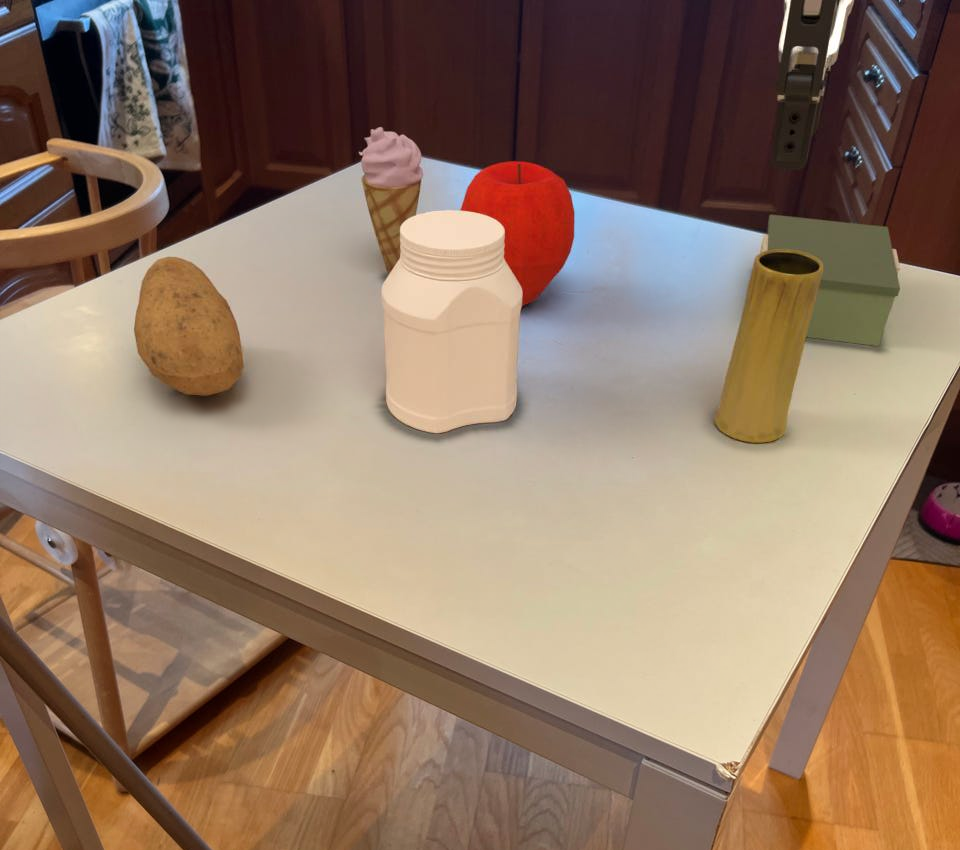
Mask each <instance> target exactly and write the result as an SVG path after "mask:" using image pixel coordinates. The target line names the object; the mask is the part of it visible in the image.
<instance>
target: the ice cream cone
mask: <svg viewBox="0 0 960 850" xmlns="http://www.w3.org/2000/svg"><path fill="white" fill-rule="evenodd" d="M364 141H365V142H366V143H367V147H365V148H364V149H363V150H362V151H358V154H359V155H360V156H362V158H361V162H360V163H361V169H362V172H363V175H362V177H361V183H362V188H363V192H364V193H363V194H364V197H365V201H366V206H367V209H368V210H367V211H368V213H369V217H370V220H371V225H372V228H373V231H374V234H375V238H376V241H377V244H378V248H379V250H380V251H379V252H380V253H381V256H382V260H383V263H384V266H385V269H386V272H387V276H388V275H389V274H390V272H391V271H392V269H393V268H394V266H395V265H396V263H397V262H398V260H399V259H400V252H401V249H400V244H401V243H400V227H401V225H402V224H403V222H404V221H406V220H407V219H409V218H411V217H413V216H415V215H417V211H418V206H419V200H420V199H419V198H420V193H421V186H422V179H423V177H424V171H423V168H422V167H421V166H420V165H421V162H422V157H423V156H422V153H421V150H420V148H419V147H418V145H417V143H415V141H413V140H412V139H411V138H408V137H407V136H406V135H405V134H400V135H398V133H396V132H395V131H384V128H383V127H382V126H380V127H377V128H375V129H373V128H372V129H370V136H368V137H364Z"/></svg>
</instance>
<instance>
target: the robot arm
mask: <svg viewBox="0 0 960 850" xmlns="http://www.w3.org/2000/svg"><path fill="white" fill-rule="evenodd" d="M854 3H855V0H783V6H782V7H783V9H782V10H783V14H784V17H783V22H782V27H781V31H780V37H779V42H778V50H777V51H778V53H777V59H778V62H779V63H780V66H779V71H778V75H777V77H775V80H774V81H775V82H774V89H776V90H775V95H776V96H777V99H776V100H777V101H778V107H777V113H776V118H775V119H776V120H775V126H774V131H773V137H772V145H771V151H770V157H769V164H770V166H771V168H773V169H777V170H789V171H800V170H802V169H803V168H804V167H806V165H807V162H808V157H809V153H810V152H809V151H810V146H811V140H812V137H813V136H814V135H815V134H816V133H817V130H818V127H819V122H820V116H821V113H822V106H823V100H824V95H825V91H826V84H827V80H828V73H826V72H831V67H832V66H834V64H835V63H836V61H837V60H838V55H839V50H840V46H841V45H842V44H843V42H844V37H845V34H846V33H845V32H846V28H847V23H848V19H849V18H848V17H849V15H850V14H851V13H852V9H853V6H854ZM794 70H795V71H794ZM796 70H797V71H796Z"/></svg>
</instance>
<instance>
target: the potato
mask: <svg viewBox="0 0 960 850" xmlns="http://www.w3.org/2000/svg"><path fill="white" fill-rule="evenodd" d="M134 318H135V319H134V325H133V331H134V332H133V333H134V338H135V344H136V350H137V354H138V356H139V357H140V358H141V360H142V361H143V363H144V365H145V366H146V367H147V369H148V371H149V372H150V373H151V374H152V375H153V376H155V377H156V378H157V379H158V380H160V381H161V383H163V384H164V385H166V386H168V387H170V388H172V389H174V390H175V391H178V392H180V393H182V394H183V395H190V396H191V395H192V396H204V397H205V396H206V397H208V396H212V395H214V394H219V393H223V392H224V391H229V390H230V389H231V388H232V387H233V385H234V384H235V383H236V382H237V380H238V379H239V378H240V377H241V375H242V373H243V369H244V366H245V365H244V356H243V349H242V348H243V347H242V341H241V336H240V335H241V334H240V331H239V328H238V327H239V326H238V322H237V320H236V318H235V316H234V314H233V311H232V309H231V307H230V305H229V303H228V301H227V299H226V298H225V297H224V296H223V295H222V293H220V292H219V290H218V289H217V288H216V286H215V285H214V283H213V282H212V280H211V279H210V278H209V277H208V276H207V275H206V273H205V272H204V271H203V270H202V268H200V267H198V266H197V265H196V264H194V263H193V262H192V261H190V260H187V259H184V258H181V257H178V256H166V257H163V258H158V259H156V260H155V262H153V264H151V266H150V267H148V269H147V270H146V273H145V275H144V277H143V279H142V280H141V285H140V290H139V296H138V304H137V307H136V310H135V317H134Z"/></svg>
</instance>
